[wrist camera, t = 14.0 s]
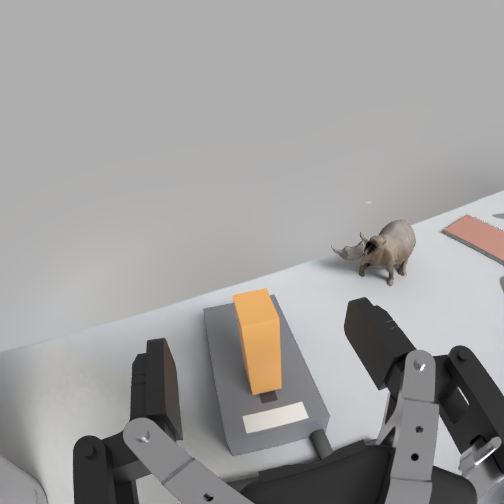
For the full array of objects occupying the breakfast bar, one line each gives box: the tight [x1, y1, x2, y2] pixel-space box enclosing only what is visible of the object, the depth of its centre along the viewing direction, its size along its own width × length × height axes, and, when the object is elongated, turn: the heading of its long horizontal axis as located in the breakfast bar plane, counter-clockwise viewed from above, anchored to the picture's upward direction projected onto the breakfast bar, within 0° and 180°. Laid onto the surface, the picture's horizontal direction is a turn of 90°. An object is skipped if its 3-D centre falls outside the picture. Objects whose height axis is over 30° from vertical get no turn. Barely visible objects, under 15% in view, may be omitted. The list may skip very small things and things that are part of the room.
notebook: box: [444, 215, 504, 265], centre depth 52 cm, size 27×17×2 cm, turn 30°
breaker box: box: [203, 295, 330, 456], centre depth 34 cm, size 10×20×4 cm, turn 12°
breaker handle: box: [233, 289, 282, 395], centre depth 27 cm, size 3×4×10 cm
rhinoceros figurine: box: [331, 220, 416, 286], centre depth 48 cm, size 8×14×15 cm
